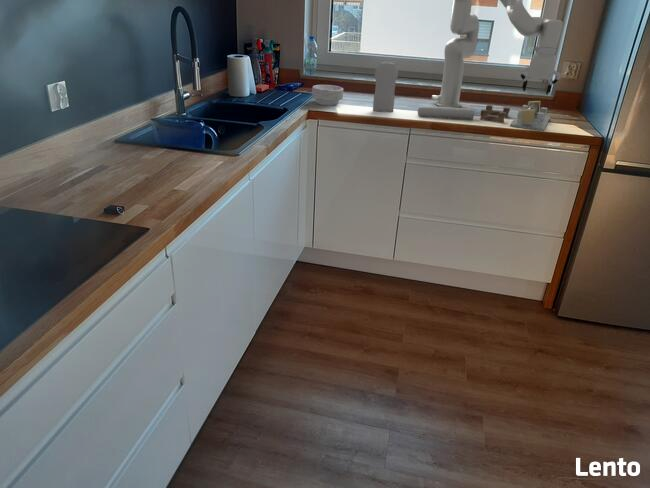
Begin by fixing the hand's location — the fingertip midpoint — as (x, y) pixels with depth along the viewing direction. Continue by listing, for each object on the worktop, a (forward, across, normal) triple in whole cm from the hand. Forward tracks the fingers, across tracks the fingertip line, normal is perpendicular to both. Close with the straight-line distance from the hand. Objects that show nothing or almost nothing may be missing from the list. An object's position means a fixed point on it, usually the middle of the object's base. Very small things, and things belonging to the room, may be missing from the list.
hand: (535, 92), depth 223 cm
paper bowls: (+16, -92, -20) cm, 95 cm away
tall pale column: (+16, -63, -19) cm, 68 cm away
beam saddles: (+14, -15, 0) cm, 20 cm away
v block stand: (+13, +1, 0) cm, 13 cm away
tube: (+15, -35, -14) cm, 40 cm away
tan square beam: (+11, +1, 0) cm, 11 cm away
